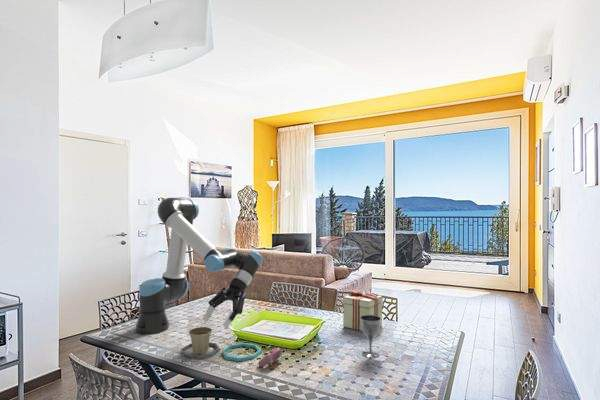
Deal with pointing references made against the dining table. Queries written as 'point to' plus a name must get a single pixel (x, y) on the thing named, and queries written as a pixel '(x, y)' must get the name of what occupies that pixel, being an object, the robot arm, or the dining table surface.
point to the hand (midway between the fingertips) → (214, 323)
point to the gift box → (360, 308)
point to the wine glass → (370, 332)
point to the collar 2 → (241, 357)
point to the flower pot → (200, 339)
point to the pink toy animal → (270, 357)
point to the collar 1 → (200, 355)
